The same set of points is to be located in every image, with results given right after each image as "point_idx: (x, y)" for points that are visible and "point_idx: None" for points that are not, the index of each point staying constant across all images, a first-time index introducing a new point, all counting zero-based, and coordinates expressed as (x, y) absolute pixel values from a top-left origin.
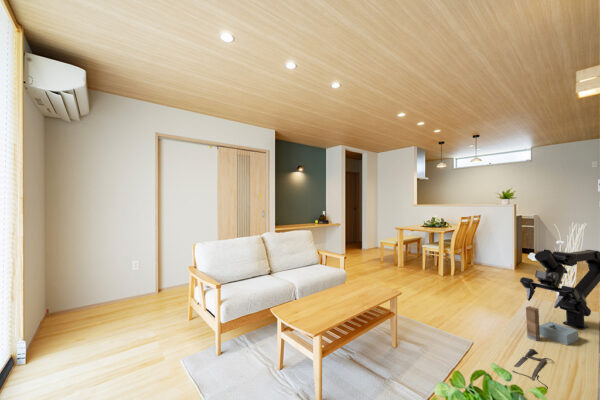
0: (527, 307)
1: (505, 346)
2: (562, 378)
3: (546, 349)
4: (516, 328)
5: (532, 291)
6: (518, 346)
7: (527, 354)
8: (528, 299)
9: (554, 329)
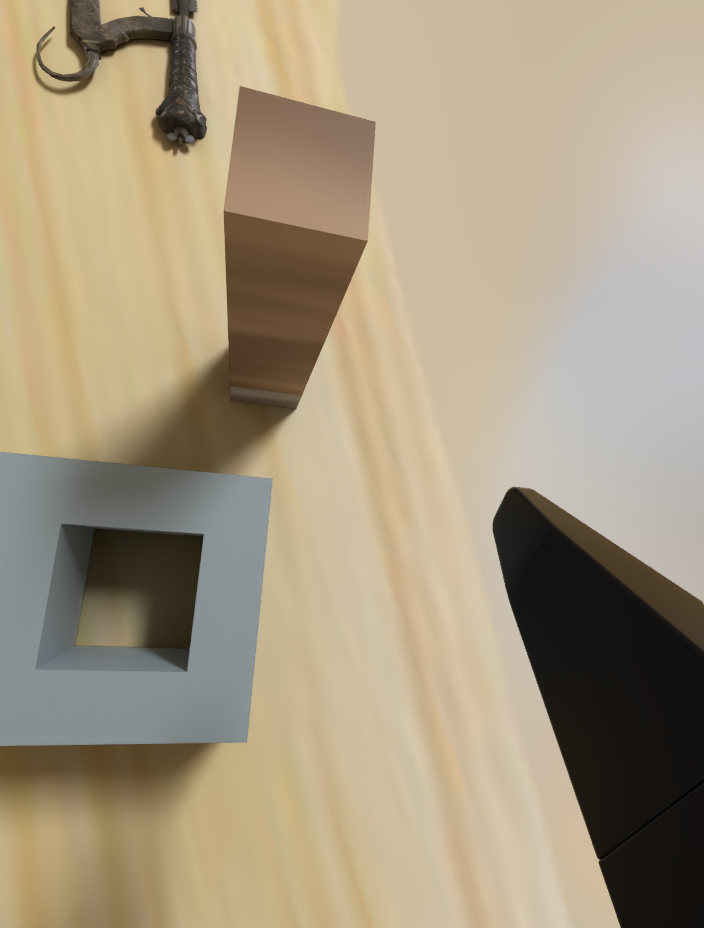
0: (354, 123)
1: (326, 83)
2: None
3: (136, 247)
4: (423, 463)
5: (670, 844)
6: None
7: (182, 30)
8: (511, 489)
9: (136, 511)
